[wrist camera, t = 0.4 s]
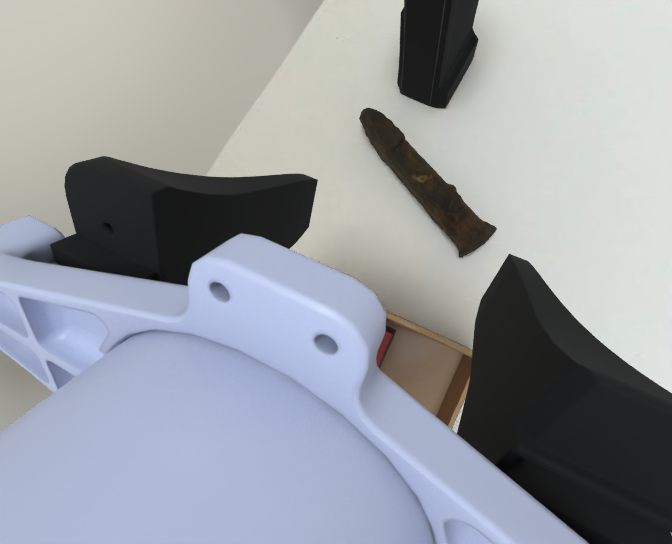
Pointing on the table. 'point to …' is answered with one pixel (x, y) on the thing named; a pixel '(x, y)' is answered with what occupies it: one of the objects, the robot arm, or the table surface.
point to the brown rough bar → (426, 184)
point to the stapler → (385, 345)
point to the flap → (429, 334)
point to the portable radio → (435, 48)
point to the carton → (428, 371)
